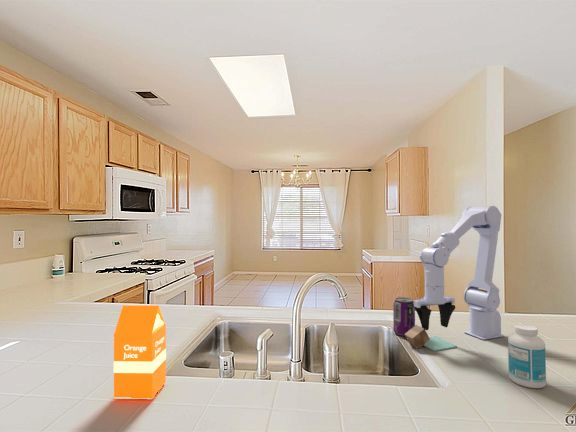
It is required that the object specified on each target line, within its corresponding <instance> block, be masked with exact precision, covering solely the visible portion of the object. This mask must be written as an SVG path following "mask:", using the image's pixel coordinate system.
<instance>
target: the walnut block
mask: <svg viewBox="0 0 576 432" xmlns="http://www.w3.org/2000/svg"><path fill="white" fill-rule="evenodd" d="M404 337H406V339H407V341H408V343H409V344H410V345H411V346H413V347H414V348H415V349H420V348H422V347H424V346H423V345H424V344H425V343H426V342H427V341H429V340H430V338H429V337H430V336H429V335H428V333H427V330H425V329H424V328H422V326H419V325H417V324H415V326H414V327H413V328H412V329H410V330H409V331H408V332H407V333H405V336H404Z"/></svg>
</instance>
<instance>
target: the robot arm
mask: <svg viewBox="0 0 576 432" xmlns="http://www.w3.org/2000/svg"><path fill="white" fill-rule="evenodd" d="M501 221H502V213H501V211H500V210H499V208H498V207H497V206H496V205H488V206H467V207H466V208H465V209H464V210H463V211H462V214H461V218H460V219H459V220H458V221H457V223H456V224H455V225H454V226H453V228H451V230H450V231H445V232H442V233H441V234H440V236H439V237H438V238H437V239H436V240H435V241H434V242H433V243H432V244H431V245H430V247H429V246H428V247H425V248H424V249H423V250H422V252H421V253H420V255H419V259H420V262H421V263H422V269H423V270H424V296H423V297H422V298H420V299H419V298H418V299H415V300H414V299H413V302H414V309H415V313H416V314H417V316H418V318H419V321H420V324H421V327H422V328H424V329H425V331H429V328H430V317H431V313H432V309H431V308H428V307H430V306H432V307H433V306H437V307H438V311H439V318H440V320H439V321H440V326H441V327H444V328H448V327H449V322H450V319H451V316H452V314H453V312H454V311H455V309H456V305H455V303H456V302H455V300H456V299H455V297H453V296H451V295H450V296H445V266H446V265H448V263H449V260H450V259H449V258H450V256H451V254H452V253H453V251H454V250H455V249H456V248H458V246H459V245H460V239H461V238H462V237H463V236H464V235H465V234H466V233H468V231H470V230H471V229H473V230H474V231H476V232H478V234H479V241H478V247H477V255H476V261H475V262H476V263H475V267H474V268H475V270H474V277H473V279H472V280H470V281H468V282H467V284H466V288H465V290H464V292H463V300H464V302H465V304H466V306H467V308H469V311H468V312H469V316H468V317H469V323H468V324H469V329H467V330H463V333H464V334H467V335H470V336H471V337H475V338H477V339H481V340H483V341H484V340H489V339H490V340H491V339H496V338H502V337H504V334H502V317H501V314H500V312H499V310H498V308H499V307H500V304H501V299H500V289H499V287H497V285H495V284H494V282H493V276H494V268H495V260H496V255H497V244H498V239H499V232H500V229H501Z"/></svg>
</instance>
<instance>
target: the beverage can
mask: <svg viewBox="0 0 576 432" xmlns="http://www.w3.org/2000/svg"><path fill="white" fill-rule="evenodd" d="M392 306H393V310H392V311H393V313H392V314H393V317H392V319H393V327H392V328H393V332H394V333H395V334H397V335H398V336H400V337H406V336H405V333H407V332H408V331H409V330H410V329H412V328H413V327H414V326H415V325H416V310H415V309H414V299H413V298H412V297H411V298H410V297H404V296H403V297H402V296H399V297H395V298H394V302H393V305H392Z"/></svg>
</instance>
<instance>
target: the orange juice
mask: <svg viewBox="0 0 576 432" xmlns="http://www.w3.org/2000/svg"><path fill="white" fill-rule="evenodd" d="M160 308H161V307H160V306H159V305H127V304H126V305H122V308H121V310H120V314H119V317H118V320H117V324H116V325H115V326H116V327H115V330H114V332H113V398H114V397H131V398H153V397H154V396H155V394H156V393H157V392H158V391H159V389H160V388H161V387H162V386H163V384H164V383H165V382H166V381H167V377H166V376H167V364H166V362H167V349H166V347H167V344H166V342H167V341H166V339H167V336H166V335H167V334H166V331H167V330H166V329H167V328H166V326H167V325H166V323H165V320H164V317H163V314H162V312H161V309H160ZM166 383H167V382H166ZM163 387H164V386H163ZM163 387H162V388H163ZM159 392H160V391H159ZM159 392H158V393H159ZM155 397H156V396H155ZM155 397H154V398H155Z"/></svg>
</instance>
